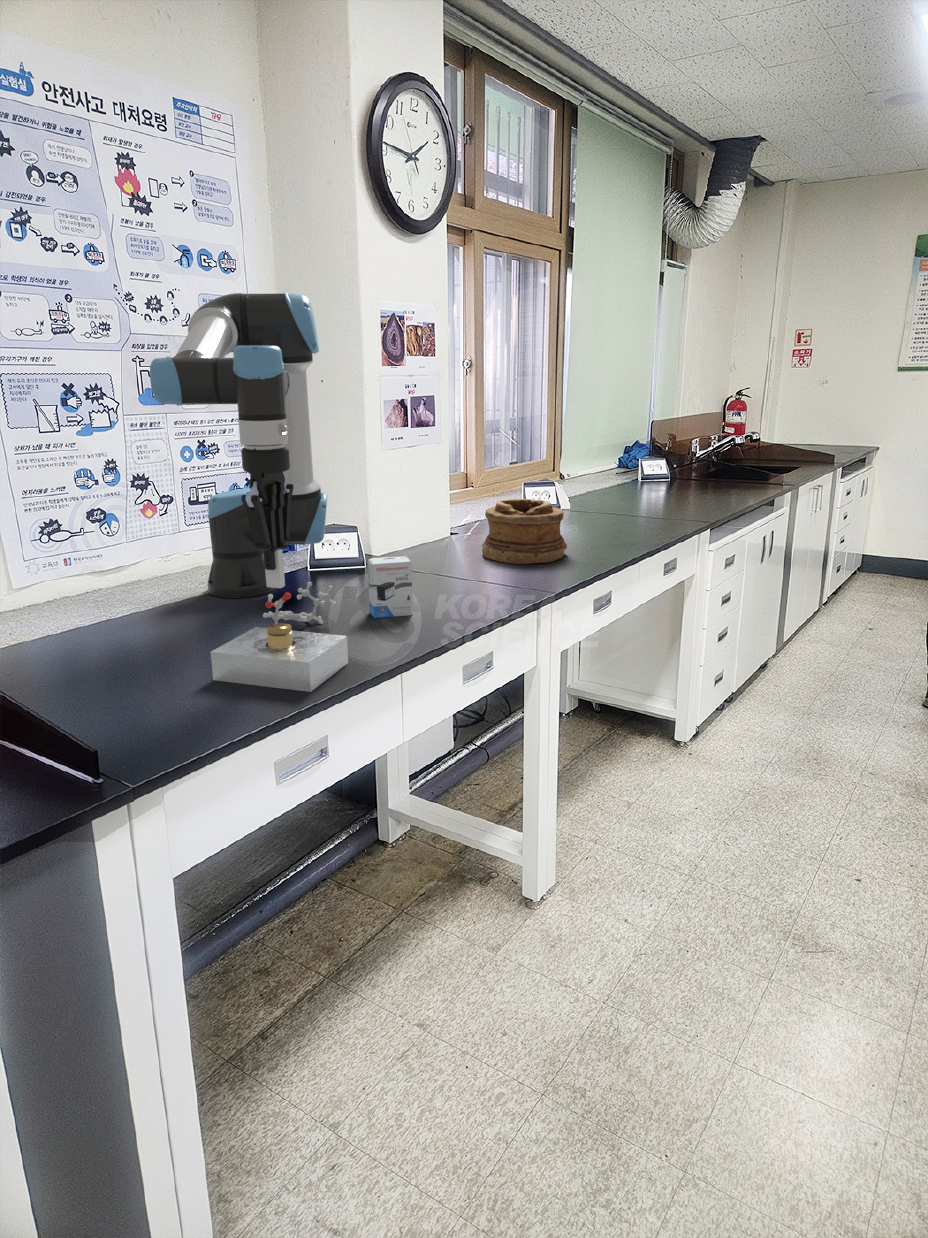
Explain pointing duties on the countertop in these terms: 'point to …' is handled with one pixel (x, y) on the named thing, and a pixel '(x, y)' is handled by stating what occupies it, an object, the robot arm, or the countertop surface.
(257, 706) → the countertop surface
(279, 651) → the plate
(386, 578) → the ink box
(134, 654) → the countertop surface
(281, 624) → the cylinder
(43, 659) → the countertop surface
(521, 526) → the container
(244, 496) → the robot arm
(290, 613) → the molecular model
